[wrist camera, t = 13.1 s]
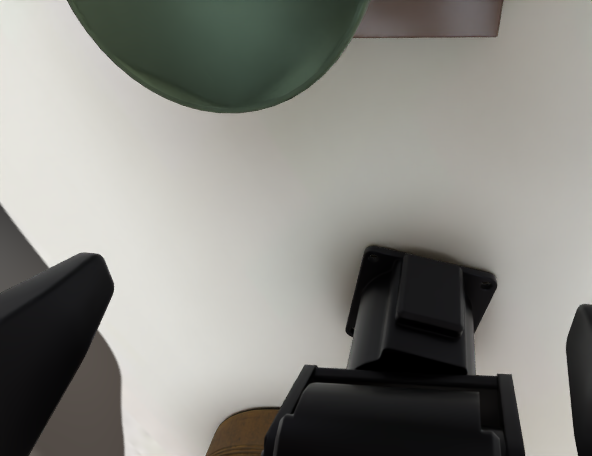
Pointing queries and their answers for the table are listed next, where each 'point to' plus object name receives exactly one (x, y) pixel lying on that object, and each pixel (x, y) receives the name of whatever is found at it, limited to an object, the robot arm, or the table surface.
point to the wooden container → (242, 434)
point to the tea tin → (223, 46)
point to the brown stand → (430, 19)
